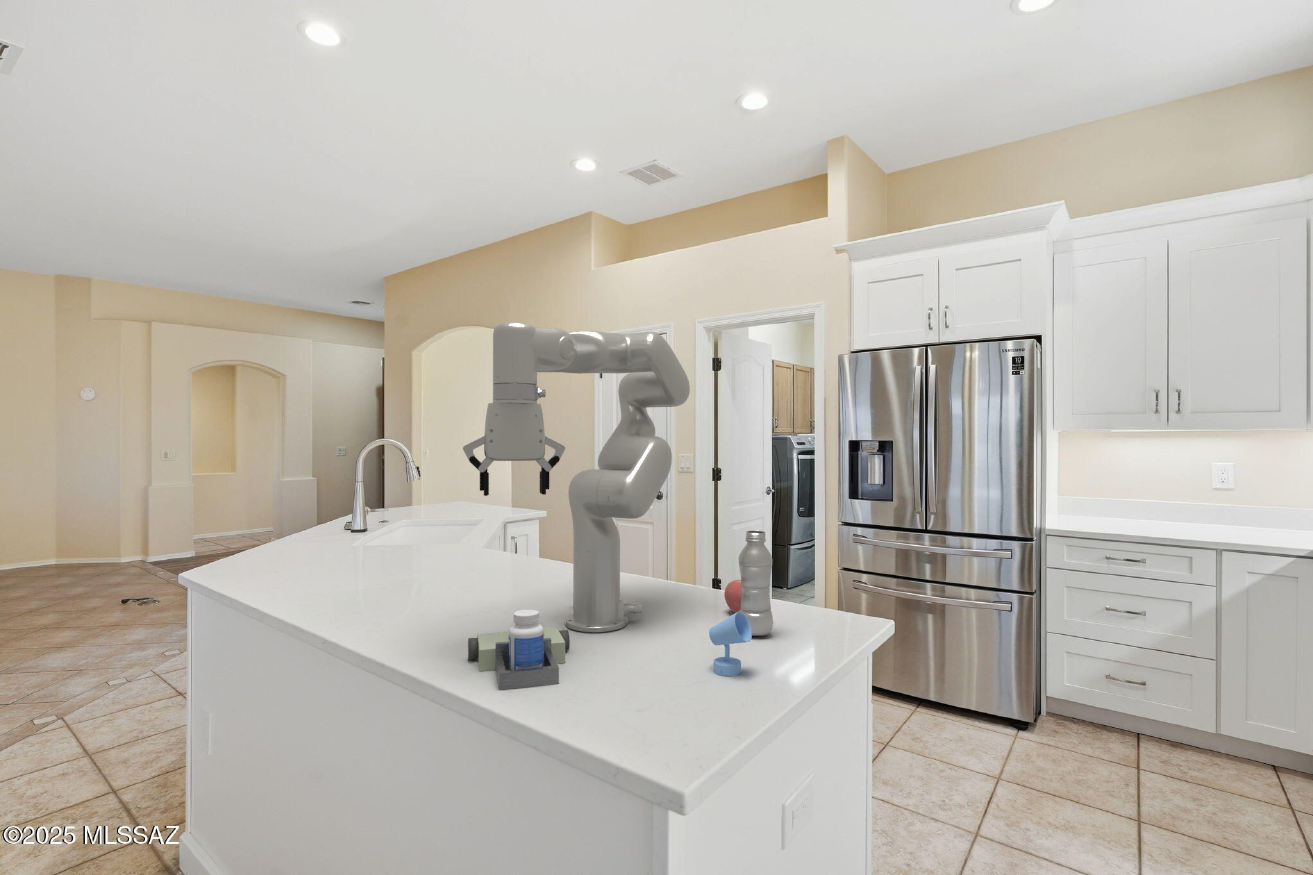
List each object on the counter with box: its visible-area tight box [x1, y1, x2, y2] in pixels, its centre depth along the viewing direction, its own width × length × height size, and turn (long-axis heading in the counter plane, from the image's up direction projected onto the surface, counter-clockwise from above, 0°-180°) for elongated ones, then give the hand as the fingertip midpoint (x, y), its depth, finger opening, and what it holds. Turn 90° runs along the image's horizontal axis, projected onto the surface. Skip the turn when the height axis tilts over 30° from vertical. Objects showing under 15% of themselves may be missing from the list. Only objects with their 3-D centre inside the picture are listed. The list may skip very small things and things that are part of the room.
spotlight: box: [708, 612, 753, 677], centre depth 107 cm, size 5×10×7 cm
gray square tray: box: [494, 638, 560, 691], centre depth 105 cm, size 9×9×4 cm
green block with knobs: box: [467, 627, 571, 672], centre depth 113 cm, size 17×9×4 cm, turn 107°
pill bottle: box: [508, 609, 544, 670], centre depth 105 cm, size 6×5×10 cm
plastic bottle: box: [738, 530, 774, 637], centre depth 127 cm, size 6×7×20 cm
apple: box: [723, 579, 742, 614], centre depth 143 cm, size 7×7×8 cm
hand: (514, 494), depth 113 cm, fingers open, 9 cm apart
